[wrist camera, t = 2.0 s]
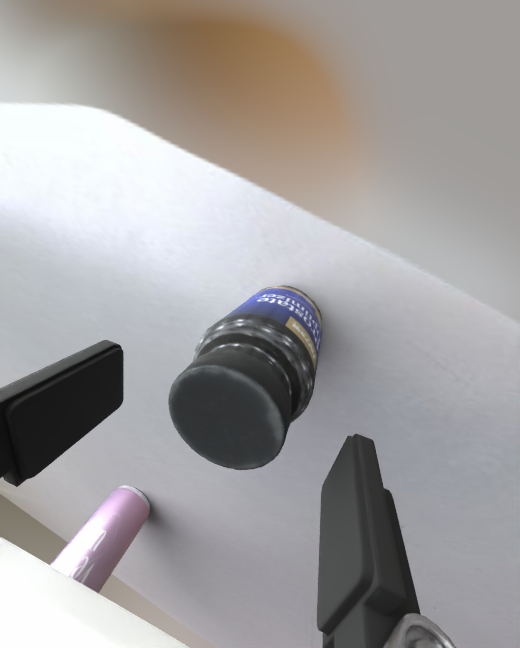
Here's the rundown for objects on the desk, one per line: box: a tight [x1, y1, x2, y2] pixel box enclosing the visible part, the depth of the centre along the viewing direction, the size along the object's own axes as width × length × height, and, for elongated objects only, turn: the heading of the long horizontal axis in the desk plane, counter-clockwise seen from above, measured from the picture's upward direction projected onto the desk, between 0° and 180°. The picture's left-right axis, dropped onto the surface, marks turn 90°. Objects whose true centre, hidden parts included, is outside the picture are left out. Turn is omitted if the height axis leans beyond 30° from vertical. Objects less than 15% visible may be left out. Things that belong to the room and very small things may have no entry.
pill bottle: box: [168, 286, 322, 470], centre depth 14 cm, size 6×6×11 cm
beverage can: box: [50, 486, 150, 593], centre depth 27 cm, size 6×6×15 cm
